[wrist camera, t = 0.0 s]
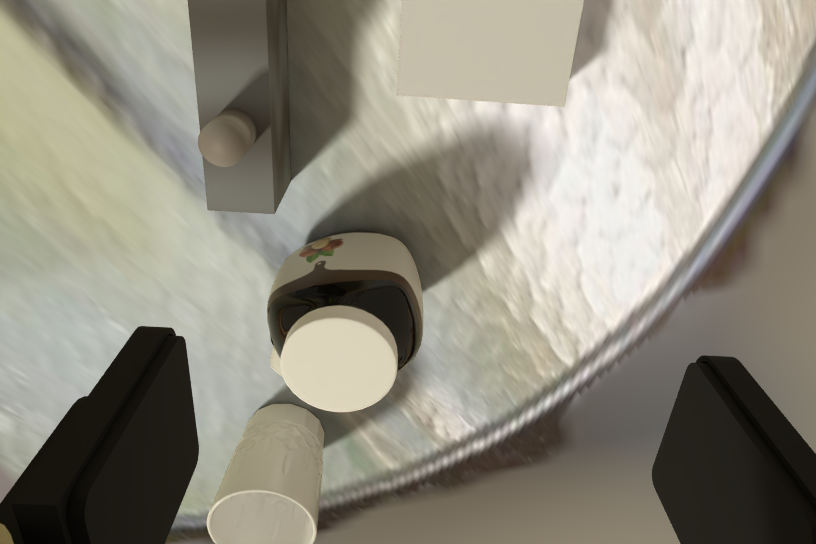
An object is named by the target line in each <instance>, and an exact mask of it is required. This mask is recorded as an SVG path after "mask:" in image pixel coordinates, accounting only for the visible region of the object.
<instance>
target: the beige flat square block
mask: <svg viewBox="0 0 816 544" xmlns="http://www.w3.org/2000/svg"><path fill="white" fill-rule="evenodd" d="M583 3H584V0H402V14H401V31H400V48H399V65H398V83H397V95H400V96H415V97H430V98H444V99H459V100H474V101H488V102H503V103H518V104H532V105H547V106H562V107H564V106H565V100H566V95H567V90H568V84H569V79H570V73H571V68H572V63H573V57H574V52H575V46H576V41H577V36H578V30H579V25H580V19H581V14H582V9H583Z"/></svg>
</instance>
